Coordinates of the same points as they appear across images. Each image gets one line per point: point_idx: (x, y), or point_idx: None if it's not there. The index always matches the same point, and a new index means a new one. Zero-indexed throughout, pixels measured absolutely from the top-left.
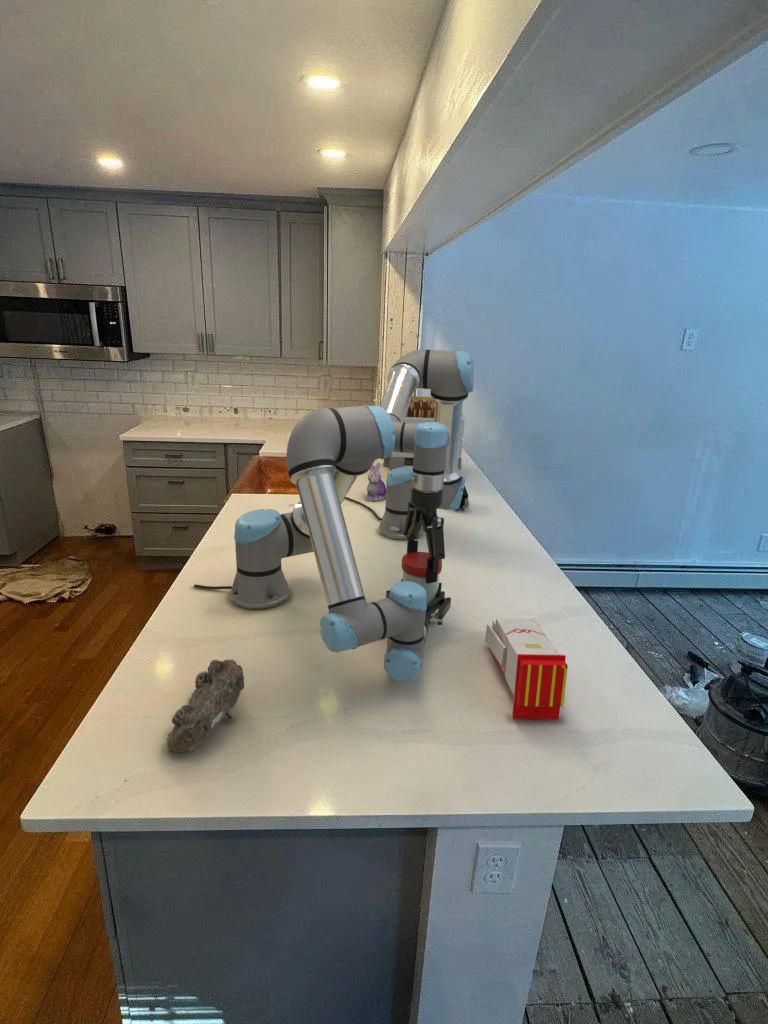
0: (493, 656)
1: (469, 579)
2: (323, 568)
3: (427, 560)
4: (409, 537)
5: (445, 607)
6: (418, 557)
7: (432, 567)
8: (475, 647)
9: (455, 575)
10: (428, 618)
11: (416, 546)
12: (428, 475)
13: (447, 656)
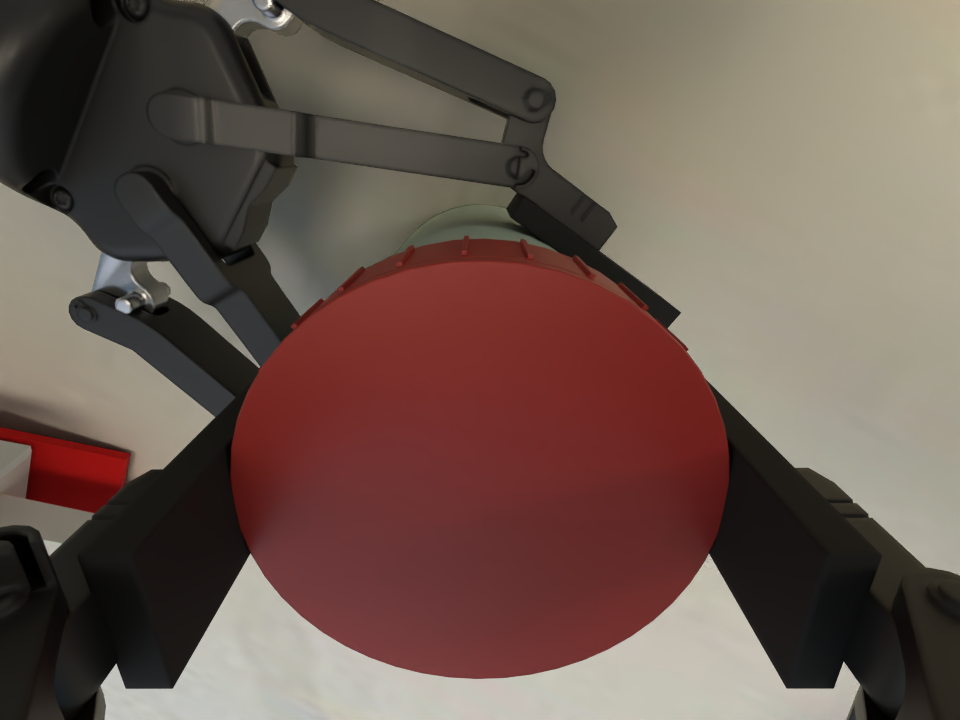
0: (24, 432)
1: (682, 656)
2: None
3: (149, 524)
4: (916, 650)
5: (185, 391)
6: (553, 498)
7: (122, 505)
8: (151, 409)
9: (746, 628)
10: (68, 215)
11: (749, 600)
12: None
13: (94, 256)
